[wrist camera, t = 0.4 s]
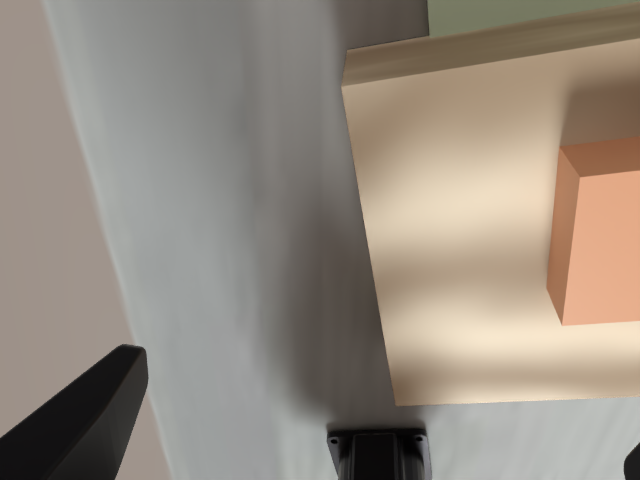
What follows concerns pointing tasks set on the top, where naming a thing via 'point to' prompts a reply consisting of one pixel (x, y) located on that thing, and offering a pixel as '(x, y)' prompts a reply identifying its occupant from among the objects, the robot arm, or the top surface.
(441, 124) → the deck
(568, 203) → the block
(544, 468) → the top surface
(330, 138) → the top surface
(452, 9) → the mat
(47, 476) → the robot arm
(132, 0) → the top surface
